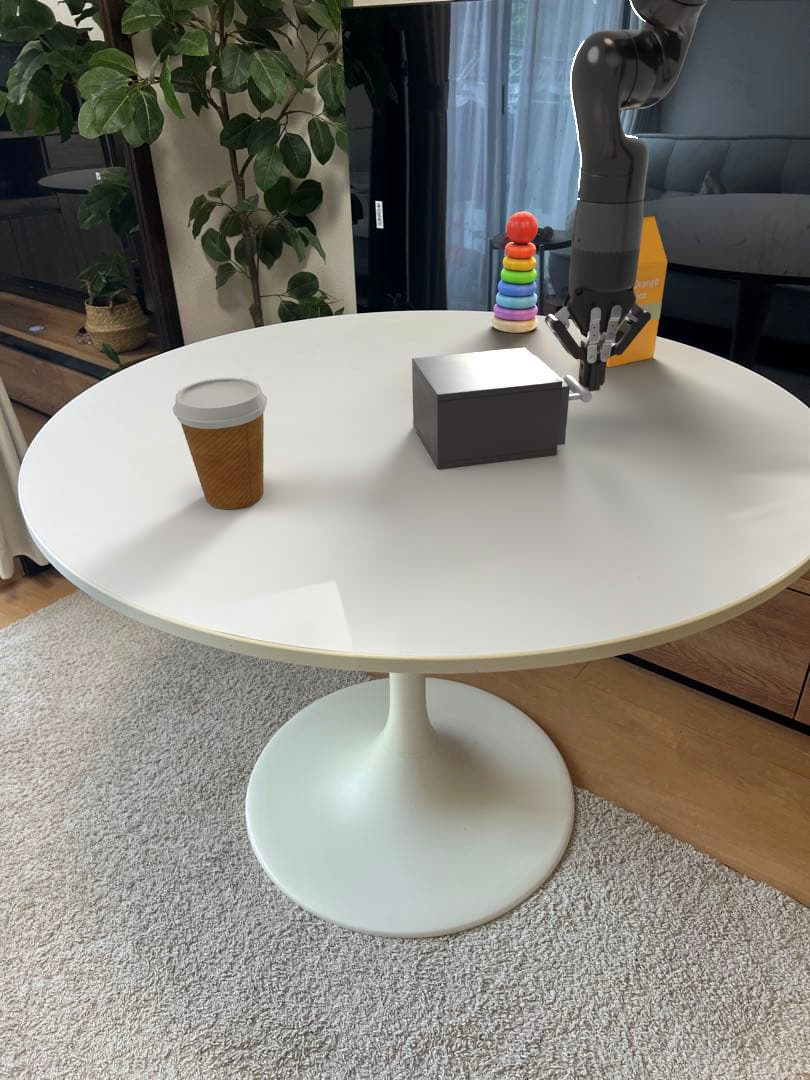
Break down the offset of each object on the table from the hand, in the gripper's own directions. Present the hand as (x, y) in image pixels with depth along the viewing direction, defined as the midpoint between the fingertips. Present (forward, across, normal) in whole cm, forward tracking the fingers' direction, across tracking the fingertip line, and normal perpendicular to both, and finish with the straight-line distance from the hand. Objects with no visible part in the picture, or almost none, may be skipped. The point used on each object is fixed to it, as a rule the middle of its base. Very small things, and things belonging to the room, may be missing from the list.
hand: (590, 388), depth 97 cm
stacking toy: (+6, +5, +43) cm, 44 cm away
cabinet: (+5, -14, 0) cm, 15 cm away
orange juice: (+5, +15, +24) cm, 29 cm away
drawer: (+4, -10, 0) cm, 11 cm away
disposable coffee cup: (+5, -44, -7) cm, 45 cm away
